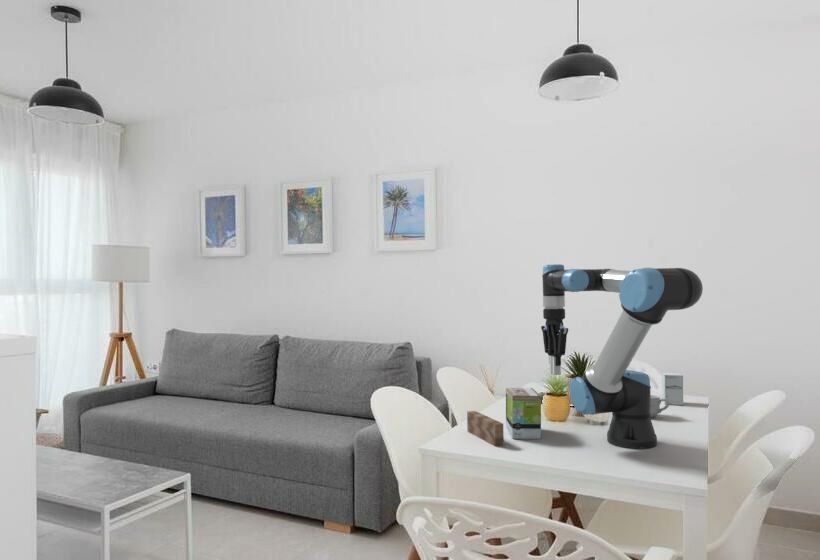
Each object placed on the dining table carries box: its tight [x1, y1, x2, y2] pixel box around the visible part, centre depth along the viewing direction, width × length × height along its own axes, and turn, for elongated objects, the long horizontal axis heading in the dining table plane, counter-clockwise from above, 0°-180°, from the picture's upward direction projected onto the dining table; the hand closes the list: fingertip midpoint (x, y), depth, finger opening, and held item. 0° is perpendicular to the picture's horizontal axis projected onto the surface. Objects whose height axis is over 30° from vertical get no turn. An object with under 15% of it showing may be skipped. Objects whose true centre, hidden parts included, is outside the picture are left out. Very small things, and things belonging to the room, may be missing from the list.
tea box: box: [505, 387, 542, 440], centre depth 197 cm, size 15×10×15 cm
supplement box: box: [661, 371, 684, 406], centre depth 240 cm, size 7×7×13 cm
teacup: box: [650, 394, 670, 418], centre depth 217 cm, size 14×11×8 cm
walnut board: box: [466, 410, 505, 447], centre depth 192 cm, size 20×3×7 cm, turn 21°
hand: (555, 374), depth 202 cm, fingers closed
